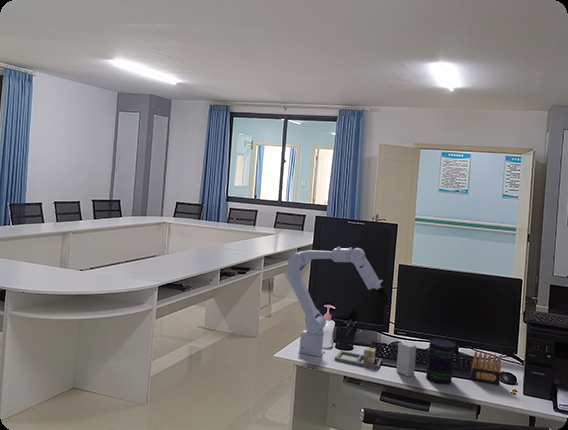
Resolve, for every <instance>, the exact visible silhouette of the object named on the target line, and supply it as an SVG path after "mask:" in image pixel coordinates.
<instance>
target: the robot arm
mask: <svg viewBox="0 0 568 430" xmlns="http://www.w3.org/2000/svg"><path fill="white" fill-rule="evenodd" d="M325 259H327V260H329V259H330V260H332V261H333V262H334V263H352V264H353V265H354V267H355V269H356V270H357V272H358V273H359V275H360V277H361V279H362V281H363V282H364V284H365V286H366V287H367V290H368V291H369V292H368V294H370V296H372V297H373V299H375V300H376V301H377V302H378V304H379V305H381V306H383V305H384V306H387V305H388V304H390V300H389V298H388V294H387V292H386V291H387V290H386V285H383V286H381V284H382V282H383V281H384V280H383V279H379V277H378V276H377V274H376V271H375V270H374V269H373V267H372V265H371V264H370V261H369V260H368V259H367V257H366V253H365V251H364V249H362V248H360V247H355V248H353V247H348V248H346V247H345V248H343V247H342V248H341V246H337V247H336V248H334V249H332V250H314V249H307V250H300V251H298V252H296V253H295V252H294V253H292V254H290V256H289V258H288V260H287V277H288V279H289V282H290V283H291V286H292V288H293V291H294V293H295V296H296V297H297V300H298V302H299V303H300V306H301V308H302V311H303V313H304V318H303V319H304V321H305V330H302V331H301V333H300V339H299V350H298V353H300V354H306V355H309V356H314V357H319V358H320V357H321V356H322V355H323V354H324V353H325V352H326V350H325V349H323V344H324V333H325V331H324V328H325V327H326V323H327V322H326V321H327V320H326V318H325V317H324V316H323V315H322V314H321V313H320V310H318V308H317V307H316V305H315V303H314V302H313V299H312V297H311V295H310V292H309V290H308V288H307V286H306V284H305V281H304V279H303V277H302V273H303V270H304V268H305V267H306V265H308V263H309V262H310V261H312V260H325Z"/></svg>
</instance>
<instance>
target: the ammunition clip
mask: <svg viewBox="0 0 568 430" xmlns="http://www.w3.org/2000/svg"><path fill="white" fill-rule="evenodd" d="M487 357H488V358H487ZM471 365H472V367H471V373H470V378H471V379H470V381H474V382H478V383H485V384H489V385H494V386H500V382H501V371H502V370H501V369H502V355H501V354H499V355H498V358H497V355H496V353H494V354H493V358H492V353H490V352H489V353H488V356H487V351H485V352H484V353H483V354H482V351H480V352H479V354H478V351H477V350H475V352H474V353H473V359H472V364H471Z"/></svg>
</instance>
